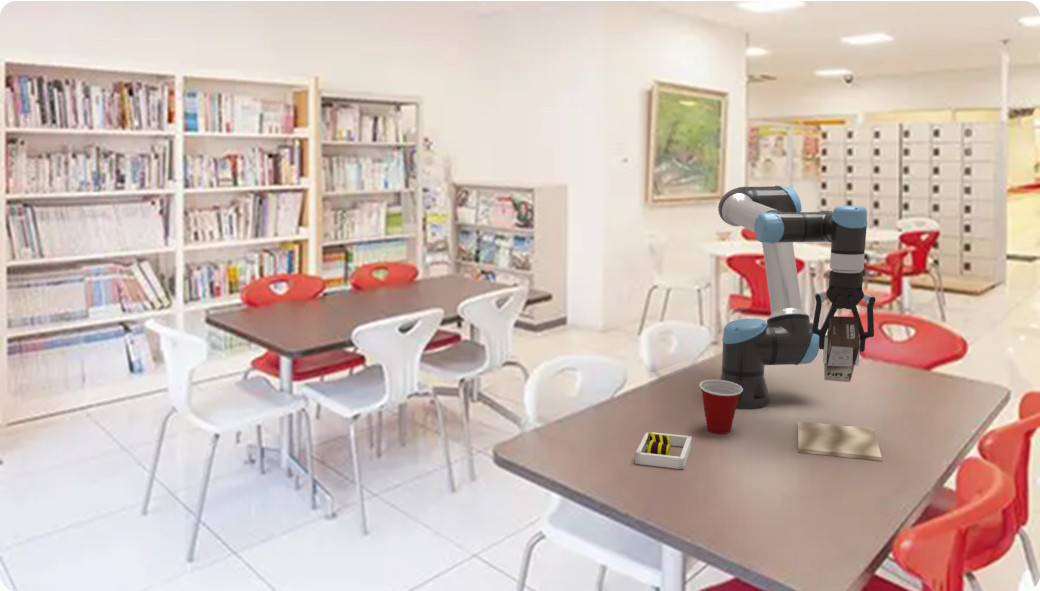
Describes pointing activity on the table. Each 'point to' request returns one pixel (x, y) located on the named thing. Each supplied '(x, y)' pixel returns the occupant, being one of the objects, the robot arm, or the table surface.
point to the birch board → (838, 441)
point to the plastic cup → (720, 404)
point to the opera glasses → (658, 444)
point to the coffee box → (841, 348)
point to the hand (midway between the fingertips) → (840, 363)
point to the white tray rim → (664, 459)
